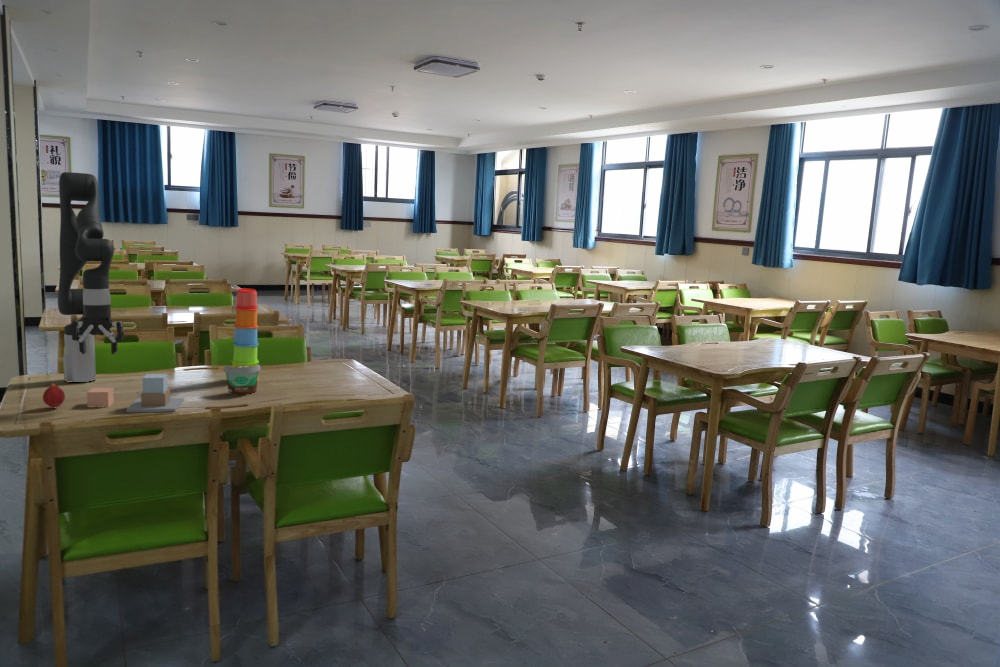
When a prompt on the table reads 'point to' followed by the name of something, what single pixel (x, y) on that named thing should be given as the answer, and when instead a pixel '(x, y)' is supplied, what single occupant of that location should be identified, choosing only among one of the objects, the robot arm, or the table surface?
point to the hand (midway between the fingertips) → (98, 353)
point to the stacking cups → (246, 329)
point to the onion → (53, 396)
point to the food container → (242, 379)
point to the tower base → (155, 408)
